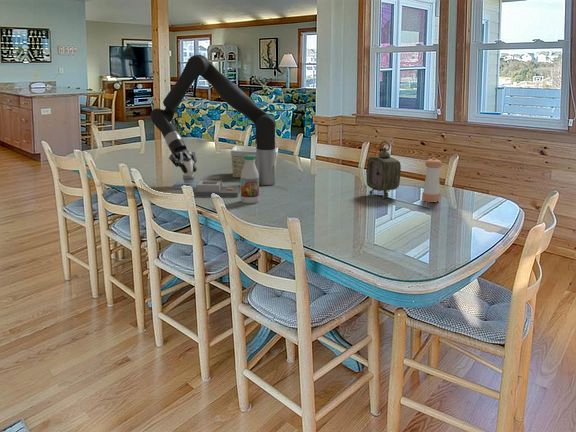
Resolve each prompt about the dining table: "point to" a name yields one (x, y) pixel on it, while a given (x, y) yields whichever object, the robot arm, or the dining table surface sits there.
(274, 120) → the robot arm
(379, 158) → the tabletop clock
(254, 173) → the milk bottle
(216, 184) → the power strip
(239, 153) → the storage basket
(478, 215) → the dining table surface
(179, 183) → the slate pad
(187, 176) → the plug
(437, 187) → the pepper shaker
